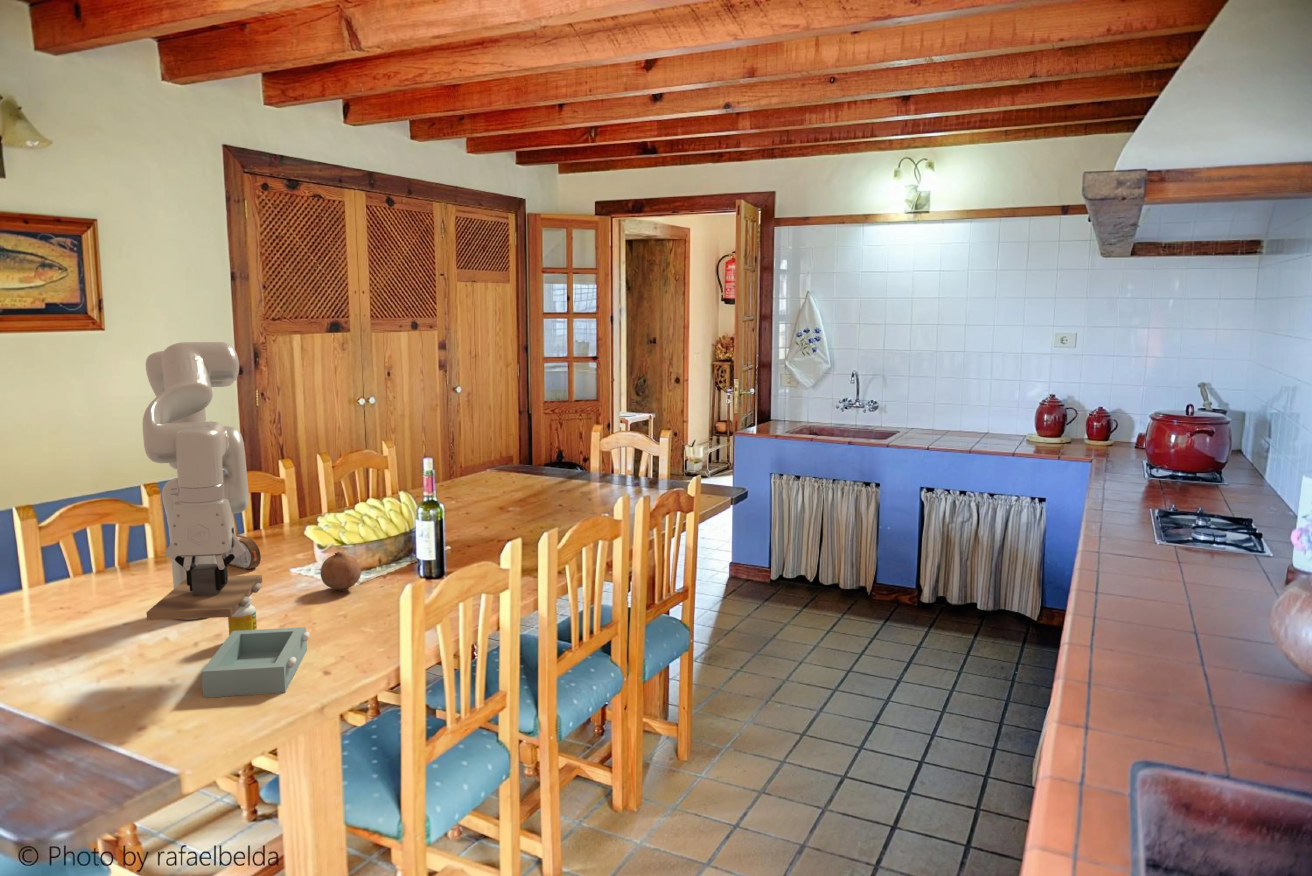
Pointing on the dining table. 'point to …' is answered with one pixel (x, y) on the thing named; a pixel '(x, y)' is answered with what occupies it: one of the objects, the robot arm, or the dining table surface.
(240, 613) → the supplement bottle
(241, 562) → the tin
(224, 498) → the robot arm
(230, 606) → the door
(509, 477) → the dining table surface
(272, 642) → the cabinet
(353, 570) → the onion
